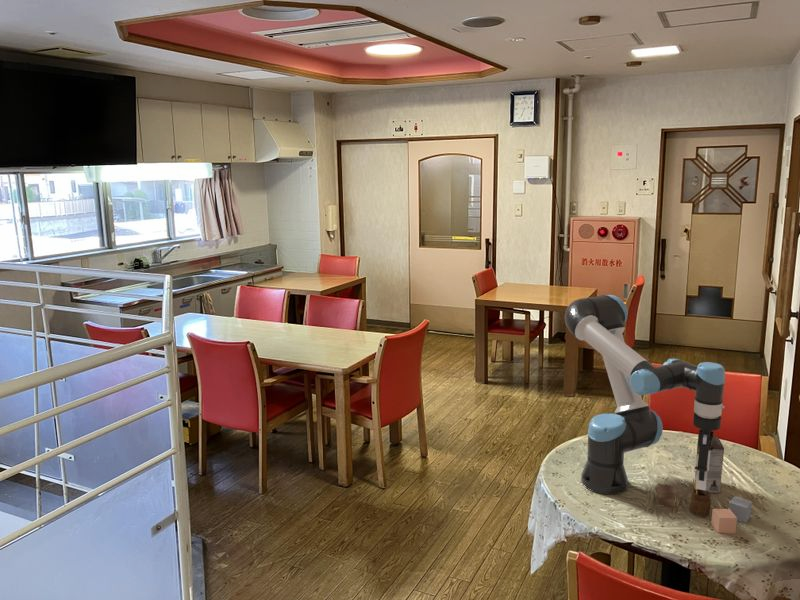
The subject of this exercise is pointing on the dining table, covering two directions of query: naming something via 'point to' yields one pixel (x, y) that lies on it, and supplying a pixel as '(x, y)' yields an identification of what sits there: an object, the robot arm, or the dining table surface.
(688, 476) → the dining table surface
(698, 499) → the utensil holder
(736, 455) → the dining table surface
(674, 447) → the dining table surface
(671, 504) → the walnut block
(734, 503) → the slate block
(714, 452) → the coffee box
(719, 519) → the terracotta block
